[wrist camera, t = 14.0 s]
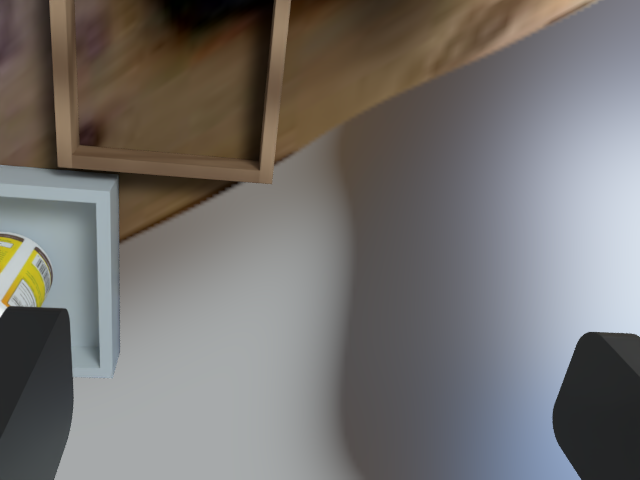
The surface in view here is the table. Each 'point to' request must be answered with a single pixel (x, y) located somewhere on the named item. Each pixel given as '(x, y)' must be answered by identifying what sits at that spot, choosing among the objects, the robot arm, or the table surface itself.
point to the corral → (151, 161)
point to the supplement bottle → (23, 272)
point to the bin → (73, 252)
